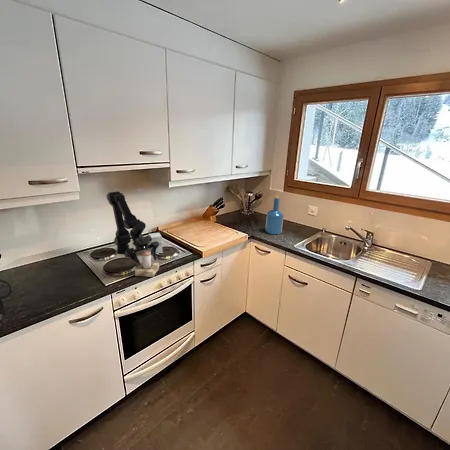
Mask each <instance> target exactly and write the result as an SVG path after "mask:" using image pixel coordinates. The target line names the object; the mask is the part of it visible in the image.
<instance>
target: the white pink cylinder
mask: <svg viewBox="0 0 450 450" xmlns="http://www.w3.org/2000/svg"><path fill="white" fill-rule="evenodd" d="M141 256H142V257H141V259H142V262H143V269H151V263H152V257H151V256H152V255H151V251H149V249H146V250H143V251H141Z"/></svg>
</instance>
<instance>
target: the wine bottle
mask: <svg viewBox="0 0 450 450" xmlns="http://www.w3.org/2000/svg"><path fill="white" fill-rule="evenodd" d="M279 197H280V196H277V195H275V197H274V198H273V206H272V207H273V208H272V209H270V210H269V211H268V212H266V218H265V220H266V221H265V228H264V230H265V232H266V233H267V234H269V235H280V234H281V233H282V232H283V223H284V214H283V213H282V212H281V211H280V210H279V207H280V198H279Z"/></svg>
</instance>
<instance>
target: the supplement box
mask: <svg viewBox="0 0 450 450" xmlns="http://www.w3.org/2000/svg"><path fill="white" fill-rule="evenodd" d="M149 235H150V236H151V238H152V241H149V242H150V243H148V245H150V244H151V243H152V242H156V241H157V242H158V243H159V246H158V248H157V249H156V254H157V255H160V254H159V253H162V254H163V238H162V237H163V236H162V235H161V233H160V232H153V233H152V232H151V233H148V234H147V236H149ZM148 251H151V250H150V249H148ZM151 256H152V254H151Z"/></svg>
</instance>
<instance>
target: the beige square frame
mask: <svg viewBox="0 0 450 450" xmlns="http://www.w3.org/2000/svg"><path fill="white" fill-rule="evenodd" d="M140 264H141V265H140V266H139V265H138V266H137V267H136V268H135V270H134V276H135V277H148V278H149V277H150V278H153V277H155V275H156V273H157V272H158V271H159V269H160V263H159V262H151V269H143V261H142V262H140Z"/></svg>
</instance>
